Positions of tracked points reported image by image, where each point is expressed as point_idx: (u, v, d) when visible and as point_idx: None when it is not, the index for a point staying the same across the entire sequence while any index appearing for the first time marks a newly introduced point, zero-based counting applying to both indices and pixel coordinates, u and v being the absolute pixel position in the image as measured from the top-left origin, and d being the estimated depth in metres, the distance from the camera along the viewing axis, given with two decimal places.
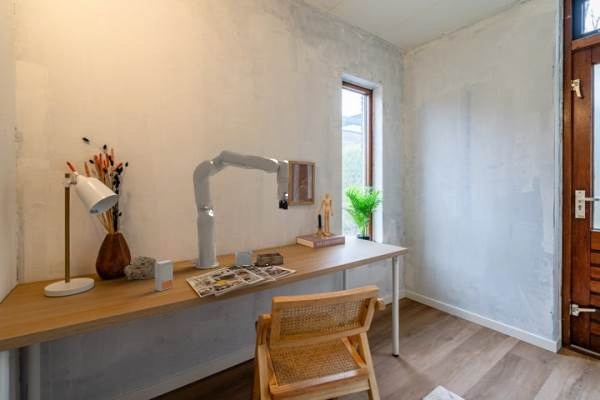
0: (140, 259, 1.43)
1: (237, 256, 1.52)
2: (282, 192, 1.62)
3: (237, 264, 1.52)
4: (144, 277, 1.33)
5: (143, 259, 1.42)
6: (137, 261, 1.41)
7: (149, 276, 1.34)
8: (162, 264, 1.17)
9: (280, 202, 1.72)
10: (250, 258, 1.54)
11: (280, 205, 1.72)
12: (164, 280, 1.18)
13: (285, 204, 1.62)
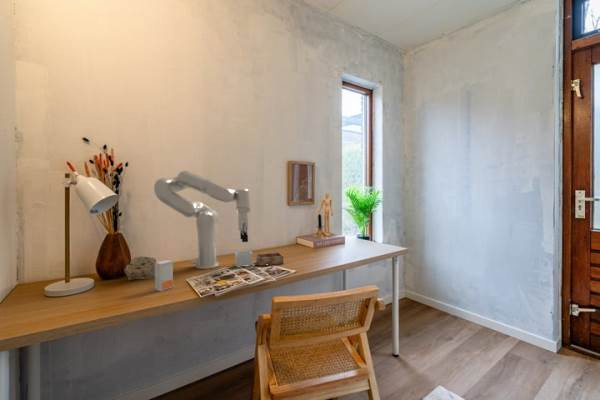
0: (140, 259, 1.42)
1: (237, 256, 1.52)
2: (241, 223, 1.51)
3: (237, 264, 1.52)
4: (144, 277, 1.33)
5: (143, 259, 1.42)
6: (137, 261, 1.41)
7: (149, 276, 1.33)
8: (162, 264, 1.17)
9: (242, 232, 1.60)
10: (250, 258, 1.54)
11: (242, 235, 1.60)
12: (164, 280, 1.18)
13: None
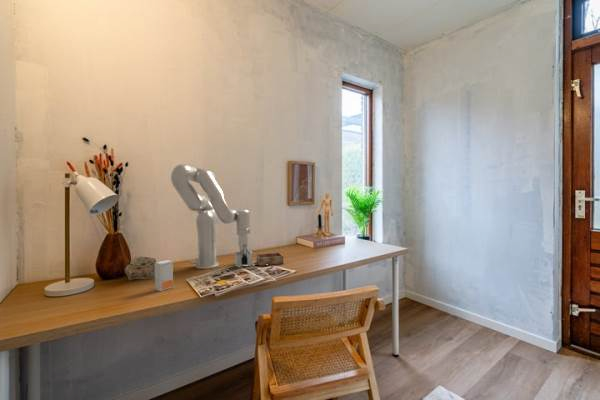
0: (140, 259, 1.42)
1: (237, 256, 1.52)
2: (241, 245, 1.51)
3: (237, 264, 1.52)
4: (145, 277, 1.33)
5: (143, 259, 1.42)
6: (137, 261, 1.40)
7: (150, 276, 1.33)
8: (162, 264, 1.17)
9: None
10: (250, 258, 1.54)
11: None
12: (164, 280, 1.18)
13: (244, 259, 1.52)
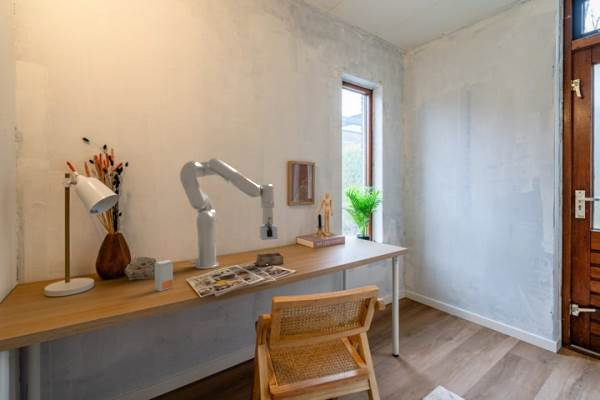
0: (140, 259, 1.42)
1: (263, 229, 1.56)
2: (266, 218, 1.55)
3: (263, 237, 1.56)
4: (146, 277, 1.32)
5: (143, 259, 1.42)
6: (137, 261, 1.40)
7: (151, 276, 1.33)
8: (162, 264, 1.17)
9: None
10: (275, 231, 1.58)
11: None
12: (164, 280, 1.18)
13: None
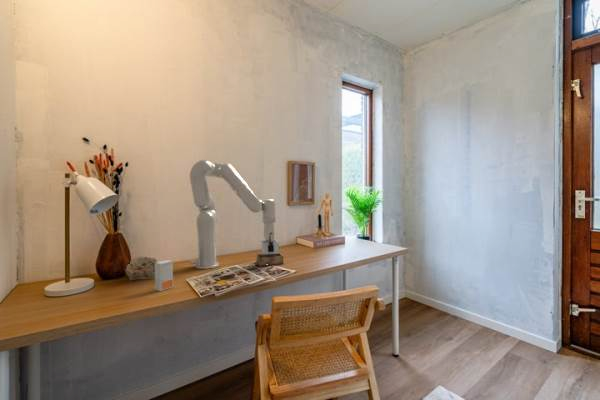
0: (140, 259, 1.42)
1: (264, 244, 1.57)
2: (268, 233, 1.55)
3: (264, 252, 1.57)
4: (146, 277, 1.32)
5: (144, 259, 1.41)
6: (138, 261, 1.40)
7: (151, 276, 1.33)
8: (162, 264, 1.17)
9: None
10: (276, 246, 1.59)
11: None
12: (164, 280, 1.18)
13: (271, 246, 1.57)
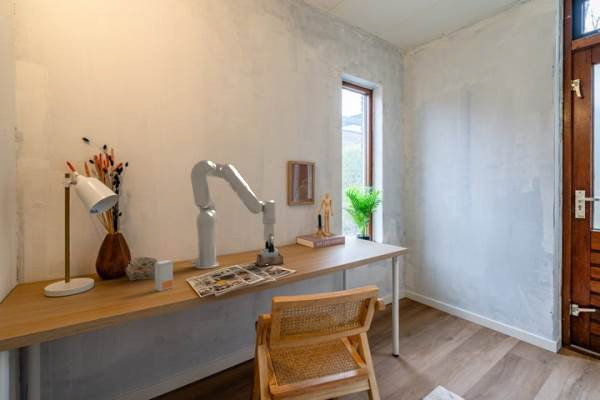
0: (141, 259, 1.42)
1: (264, 253, 1.57)
2: (268, 234, 1.55)
3: None
4: (147, 277, 1.32)
5: (144, 259, 1.41)
6: (138, 261, 1.40)
7: (152, 276, 1.33)
8: (162, 264, 1.17)
9: (266, 242, 1.65)
10: (276, 255, 1.59)
11: (266, 245, 1.65)
12: (164, 280, 1.18)
13: (271, 247, 1.55)
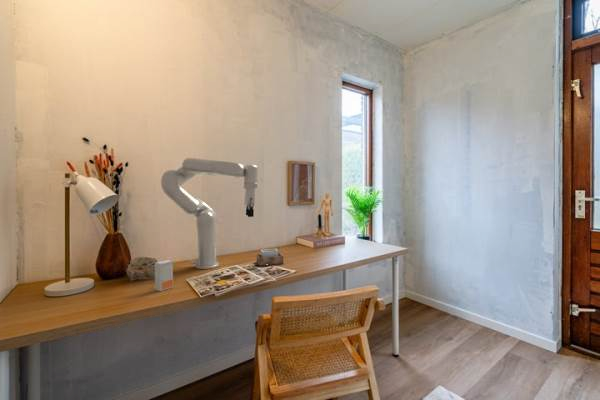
0: (141, 260, 1.41)
1: (264, 253, 1.57)
2: (248, 198, 1.53)
3: None
4: (147, 277, 1.32)
5: (144, 259, 1.41)
6: (138, 262, 1.40)
7: (152, 276, 1.33)
8: (162, 264, 1.17)
9: (247, 208, 1.63)
10: (276, 255, 1.59)
11: (247, 211, 1.62)
12: (164, 280, 1.18)
13: (250, 211, 1.53)
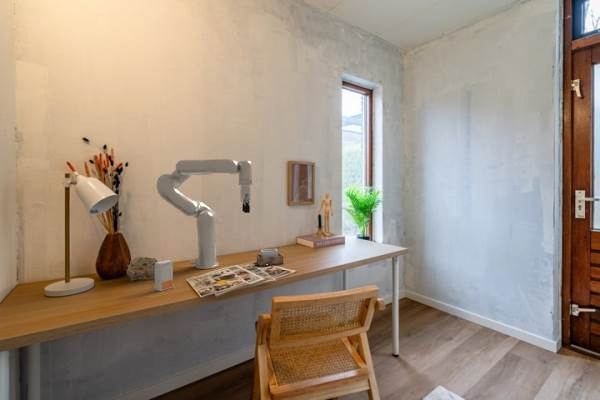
0: (141, 260, 1.41)
1: (264, 253, 1.57)
2: (243, 194, 1.53)
3: None
4: (148, 277, 1.32)
5: (144, 260, 1.41)
6: (138, 262, 1.40)
7: (153, 276, 1.33)
8: (162, 264, 1.17)
9: (243, 205, 1.62)
10: (276, 255, 1.59)
11: (243, 208, 1.62)
12: (164, 280, 1.18)
13: (247, 207, 1.53)
